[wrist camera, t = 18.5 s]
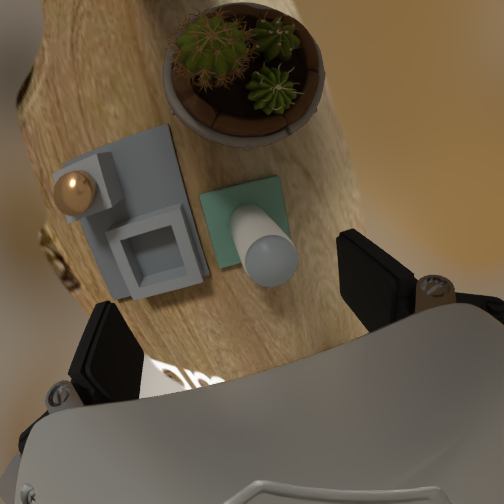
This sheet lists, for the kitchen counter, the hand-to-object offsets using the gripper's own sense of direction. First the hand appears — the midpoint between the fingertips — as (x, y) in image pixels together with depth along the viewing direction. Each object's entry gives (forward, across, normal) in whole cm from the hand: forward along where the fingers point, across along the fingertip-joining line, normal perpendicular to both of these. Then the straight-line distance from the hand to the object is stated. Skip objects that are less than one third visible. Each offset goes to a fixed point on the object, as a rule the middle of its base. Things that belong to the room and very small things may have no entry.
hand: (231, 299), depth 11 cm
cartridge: (+24, -4, +6) cm, 25 cm away
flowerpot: (+26, -6, -11) cm, 28 cm away
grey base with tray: (+25, +10, +1) cm, 27 cm away
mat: (+25, -4, +6) cm, 26 cm away
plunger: (+23, +13, -5) cm, 27 cm away
